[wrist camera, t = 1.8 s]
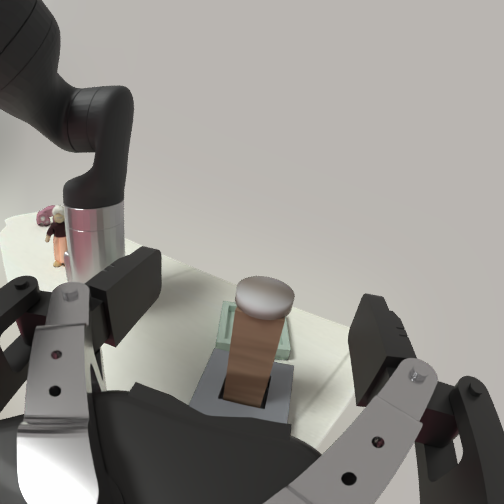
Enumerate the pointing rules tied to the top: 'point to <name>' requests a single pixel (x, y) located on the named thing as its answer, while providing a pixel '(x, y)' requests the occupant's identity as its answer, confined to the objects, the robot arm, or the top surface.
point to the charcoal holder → (212, 404)
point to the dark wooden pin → (255, 337)
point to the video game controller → (45, 215)
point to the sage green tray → (227, 326)
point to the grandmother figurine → (58, 235)
